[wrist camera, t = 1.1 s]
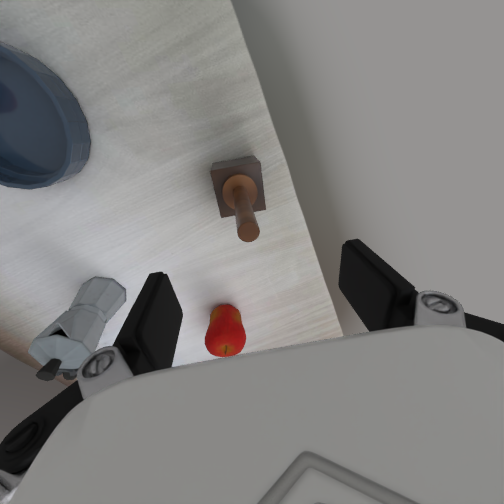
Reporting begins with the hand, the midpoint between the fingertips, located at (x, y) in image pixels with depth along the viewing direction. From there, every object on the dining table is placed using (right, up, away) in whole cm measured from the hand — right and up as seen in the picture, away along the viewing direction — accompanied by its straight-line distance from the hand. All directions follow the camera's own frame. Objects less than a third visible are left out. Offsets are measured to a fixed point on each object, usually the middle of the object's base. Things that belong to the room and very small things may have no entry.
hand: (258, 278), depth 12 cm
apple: (-7, -13, +41) cm, 44 cm away
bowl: (-32, +20, +19) cm, 42 cm away
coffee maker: (-32, -8, +35) cm, 48 cm away
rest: (-3, +14, +26) cm, 29 cm away
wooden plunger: (-2, +10, +20) cm, 22 cm away
